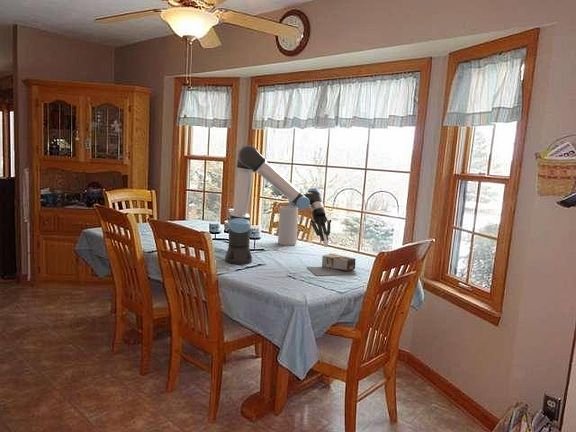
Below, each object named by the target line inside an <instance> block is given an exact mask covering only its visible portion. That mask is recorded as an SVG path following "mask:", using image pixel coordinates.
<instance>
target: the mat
mask: <svg viewBox="0 0 576 432" xmlns="http://www.w3.org/2000/svg"><path fill="white" fill-rule="evenodd" d="M306 268H307V270H309V271H310V272H311V273H312V274H313V275H314V276H316V277H329V276H334V275H335V276H356V273H355V272H353V270H352V271H349V272H344V271H340V270H335V269H331V268H327V267H323V266H307V267H306Z"/></svg>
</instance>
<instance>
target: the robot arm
mask: <svg viewBox="0 0 576 432" xmlns="http://www.w3.org/2000/svg"><path fill="white" fill-rule="evenodd" d="M236 159H237V161H236V169H237V170H238V174H237V180H236V181H237V182H236V189H235V196H234V204H233V211H232V212H231V213H230V215H229V223H228V225H227V226H228V227H227V228H228V246H227V250H226V253H225V255H224V256H225V257H224V261H225V263H227V262H228V263H227V264H231V263H232V265H248V264H251V263H252V261H253V255H252V252H251V250H250V238H251V234H250V233H251V222H250V220H251V216H250V214H249V208H250V200H251V193H252V186H253V180H254V173H258V174H259V175H260V176H261V177H262V178H263V179H265V180H266V182H268V183H269V184H270V185H272V187H274V188H275V190H277V191H278V192H280V194H282V195H283V196H284V197H285V198H286V199H288V204H289V205H288V206H291V207H298V210H301V211H305V210H308V208H310V212H311V215H312V219H311V220H310V221H309V224H310V225H311V226H312V229H313V230H314V232H315V235H316V236H317V237H318V236H319V238H320V240H321V241H322V244H323V247H324V248H327V247H328V245H329V242H328V241H329V236H330V234H331V223H332V220H331V219H328V217H327V215H326V211H325V207H324V203H323V200H322V194H321V191H320V189H319V188H318V187H311V188H309V189H308V190H307V192H301V191H300V190H299V189H297V188H296V187H295V186H294V185H293V184H292V183H291V182H290V181H288V179H286V178H285V177H284V176H283V175H282V174H281V173H280V172H278V170H276V169H275V168H274V167H273V166H272V165H271V164H270V163H268V162H267V159H266V158H265V157H264V156H263V155H262V154H261V153H260V151H258V149H257V147H255V146H253V145H247V144H246V145H243V146H241V147H240V148H239V150H238V151H237V158H236ZM326 224H327V225H326Z"/></svg>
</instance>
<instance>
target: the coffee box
mask: <svg viewBox="0 0 576 432" xmlns="http://www.w3.org/2000/svg"><path fill="white" fill-rule="evenodd" d="M321 267H327V268H331V269H335V270H340V271H344V272H349V271H352V272H353V271H354V270H356V258H355V257H354V258H353V257H350V256H345V255H340V254H335V253H327V254H324V255H322V260H321Z"/></svg>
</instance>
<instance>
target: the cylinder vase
mask: <svg viewBox="0 0 576 432" xmlns="http://www.w3.org/2000/svg"><path fill="white" fill-rule="evenodd" d="M278 211H279V212H278V213H279V214H278V234H277V235H278V236H277V244H278V245H281V246H289V247H291V246H296V245H297V239H298V238H297V236H298V223H299V222H298V220H299V208H298V207H297V206H295V207H291V206H290V205H281V206H279V210H278Z"/></svg>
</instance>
